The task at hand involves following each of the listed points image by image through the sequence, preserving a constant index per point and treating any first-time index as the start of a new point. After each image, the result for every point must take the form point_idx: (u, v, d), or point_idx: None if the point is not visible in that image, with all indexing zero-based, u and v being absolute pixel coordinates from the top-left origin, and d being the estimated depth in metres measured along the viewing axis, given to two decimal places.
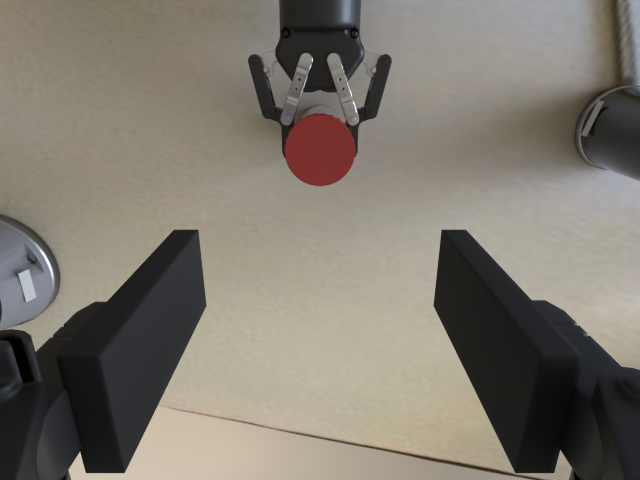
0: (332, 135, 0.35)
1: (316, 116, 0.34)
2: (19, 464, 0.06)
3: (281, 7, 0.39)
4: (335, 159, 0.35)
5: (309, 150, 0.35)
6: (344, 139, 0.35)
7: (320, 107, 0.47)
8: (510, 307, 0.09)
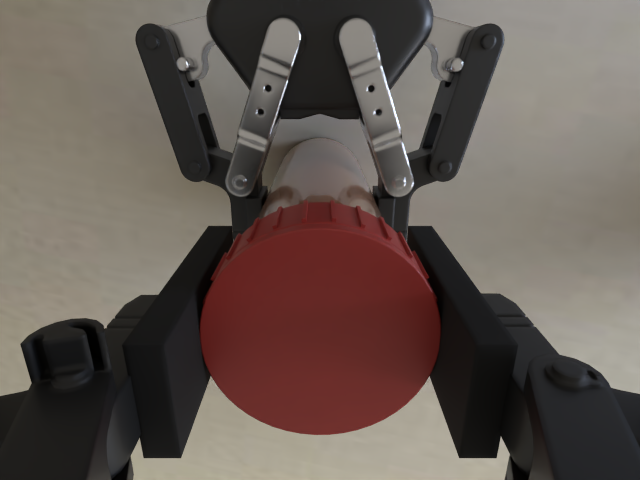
0: (365, 293, 0.10)
1: (307, 231, 0.09)
2: (93, 450, 0.06)
3: None
4: (373, 364, 0.10)
5: (284, 338, 0.10)
6: (406, 306, 0.10)
7: (321, 145, 0.22)
8: (458, 299, 0.09)
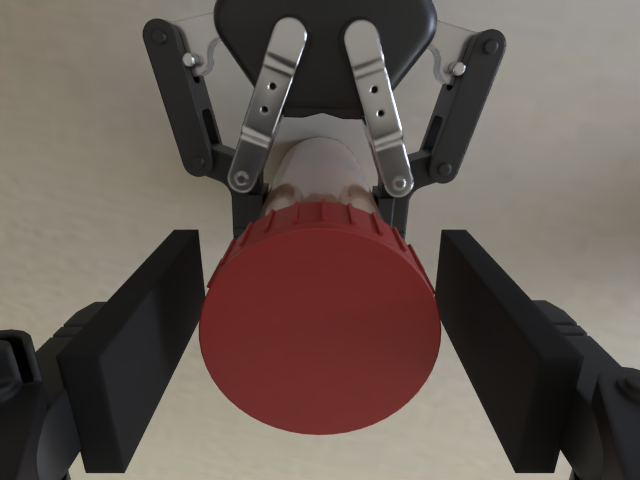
0: (267, 299, 0.10)
1: (202, 341, 0.10)
2: (19, 464, 0.06)
3: None
4: (353, 296, 0.10)
5: (312, 371, 0.10)
6: (285, 262, 0.09)
7: (322, 144, 0.22)
8: (510, 307, 0.09)
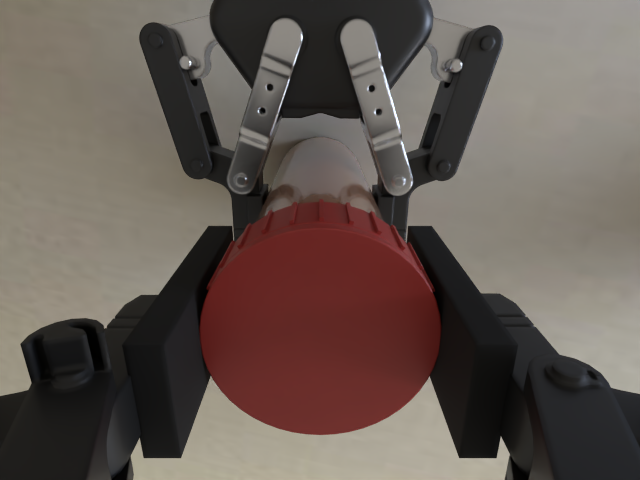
0: (266, 300, 0.10)
1: (202, 343, 0.10)
2: (93, 449, 0.06)
3: None
4: (352, 296, 0.10)
5: (313, 371, 0.10)
6: (283, 263, 0.09)
7: (321, 144, 0.22)
8: (458, 299, 0.09)
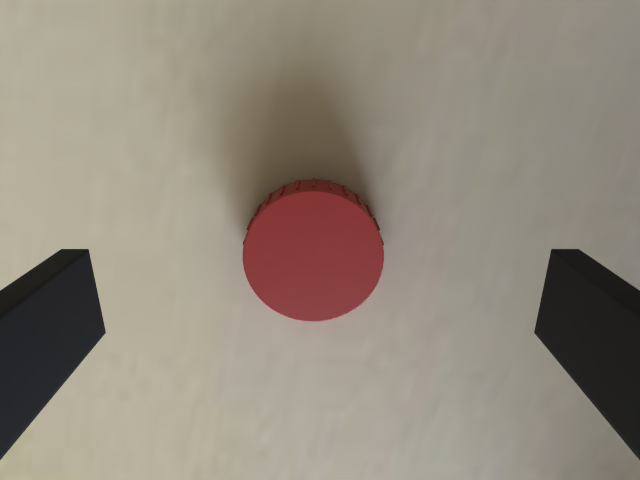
0: (282, 233, 0.17)
1: (244, 261, 0.17)
2: None
3: None
4: (331, 230, 0.17)
5: (309, 278, 0.18)
6: (292, 211, 0.17)
7: None
8: None
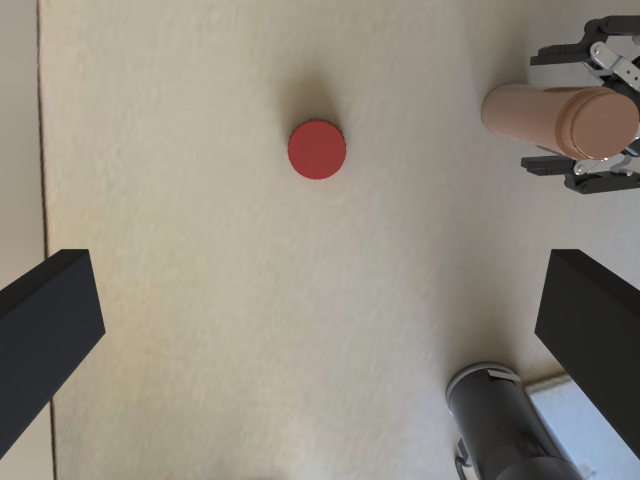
0: (304, 139, 0.42)
1: (288, 151, 0.42)
2: None
3: None
4: (324, 138, 0.42)
5: (315, 159, 0.43)
6: (308, 129, 0.42)
7: None
8: None
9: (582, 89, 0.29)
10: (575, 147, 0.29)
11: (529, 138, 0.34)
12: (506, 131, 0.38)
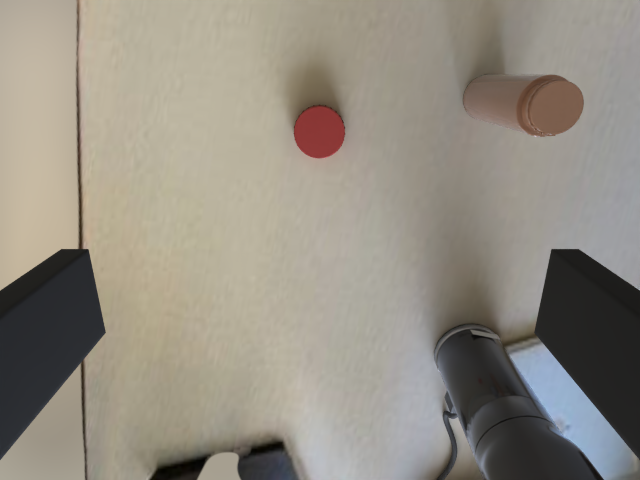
0: (308, 122, 0.48)
1: (294, 133, 0.49)
2: None
3: None
4: (325, 121, 0.48)
5: (318, 140, 0.49)
6: (312, 114, 0.48)
7: None
8: None
9: (538, 77, 0.35)
10: (532, 125, 0.35)
11: (499, 120, 0.41)
12: (482, 115, 0.45)
